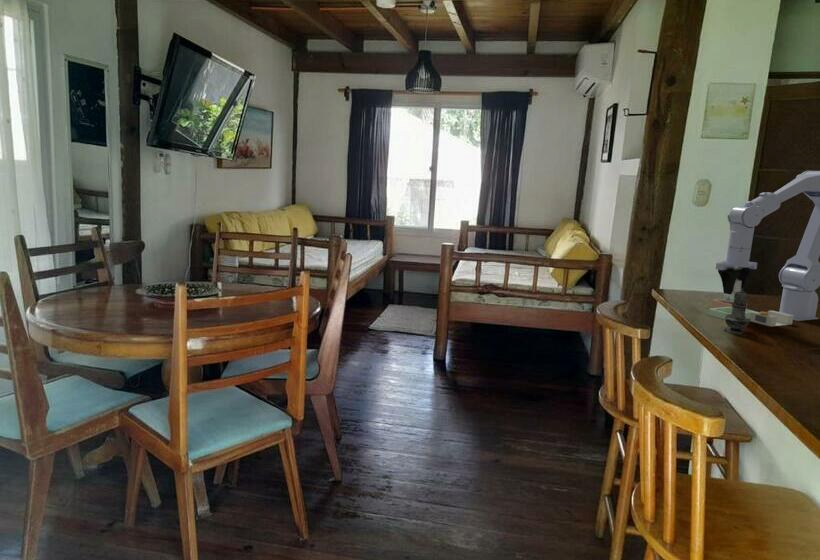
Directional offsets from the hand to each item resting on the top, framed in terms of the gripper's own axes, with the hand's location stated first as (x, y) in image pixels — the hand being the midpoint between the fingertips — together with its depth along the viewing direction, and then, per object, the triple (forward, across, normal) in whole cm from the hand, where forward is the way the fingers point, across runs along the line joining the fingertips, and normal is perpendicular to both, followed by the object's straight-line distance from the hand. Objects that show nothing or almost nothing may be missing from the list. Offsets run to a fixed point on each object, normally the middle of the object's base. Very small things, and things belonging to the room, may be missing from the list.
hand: (732, 293), depth 156 cm
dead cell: (+7, -8, -6) cm, 13 cm away
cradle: (+8, -6, +8) cm, 13 cm away
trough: (+8, -1, 0) cm, 8 cm away
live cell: (+2, 0, 0) cm, 2 cm away
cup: (+8, -8, -6) cm, 13 cm away
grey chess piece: (+8, +13, +12) cm, 19 cm away
